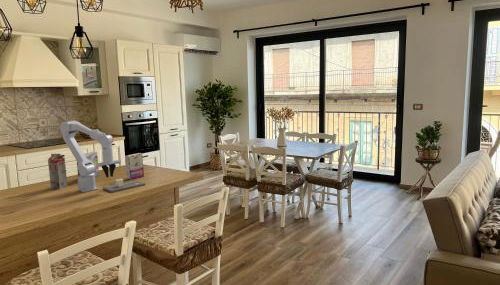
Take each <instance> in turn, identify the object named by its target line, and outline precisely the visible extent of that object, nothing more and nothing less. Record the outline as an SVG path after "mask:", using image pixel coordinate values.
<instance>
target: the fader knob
mask: <svg viewBox="0 0 500 285" xmlns="http://www.w3.org/2000/svg"><path fill="white" fill-rule="evenodd" d="M123 183H124V179H122V178H116V179H115V185H116V186H118V187H121V186H124V185H123Z"/></svg>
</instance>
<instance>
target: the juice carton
mask: <svg viewBox="0 0 500 285" xmlns="http://www.w3.org/2000/svg"><path fill="white" fill-rule="evenodd" d="M47 162H48V163H47V164H48V172H49V174H48V175H49V181H50V182H49V183H50V189H51V190H62V189H64V188H66V187H68V180H67V179H68V177H67V170H66V169H67V168H66V159H65V157H63V156H62V155H61V153H50V157H49V158H48V159H47Z"/></svg>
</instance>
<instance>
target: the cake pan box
mask: <svg viewBox="0 0 500 285" xmlns="http://www.w3.org/2000/svg"><path fill="white" fill-rule="evenodd" d="M84 155H85V156H86V158H87V159H88V160H90V161H91V162H92V163H93V164H94V165H95V166H96V164H98V163H99V159H98V158H99V157H98V156H99V155H98V151H90V152H88V153H84ZM77 166H78V162H77V161H76V168H77ZM96 168H97V170H96V172H95V178H96V177H98V176H99V174H100V173H99V167H96ZM79 177H81V175H80V174H79V170H78V168H77V179H78V178H79Z"/></svg>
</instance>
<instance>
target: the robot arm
mask: <svg viewBox="0 0 500 285" xmlns="http://www.w3.org/2000/svg"><path fill="white" fill-rule="evenodd" d="M59 130H60V132H61V136H62V139H63V140H64V142H65V144H66V146H67V147H68V149H69V150H70V152H71V154H72V156H73V157H74V158H75V161H76V163H77V162H78V166H77V165H76V168H78V170H79V174H80V175H81V177H79V178H78V177H77V187H78V188H77V190H78V191H79V192H81V193H86V192H91V191H94V190H95V191H96V190H99V188H98V187H97V186H96V177H95V172H96V170H97V168H96V167H98V168H100V167H101V169H102V170H103V172H104V175H105V178H109V176H110V177H111V178H113V177H114V173H115V172H114V171H115V170H116V167H117V165H118V164H119V165H120V164H121V160H120V159H117V160H114V155H113V143H114V137H113V135H111V133H110V134H107V133H105V132H102V131H100V129H98V128H96V129H91V128H89V127H87V126H86V125H84V124H82V123H81V122H80V121H78V120H70V121H63V122H61V123H60V127H59ZM78 131H79V132H82V133H84V134H86V135H89V138H91V139H92V140H95V141H97V142H99V144H100V145H101V152H102V161H101V162H98V164H96V166H95V165H94V164H93V163H92V162H91V161H90V160H88V159H87V158H86V156H85V155H84V154H85V153H84V152H83V150H82V148H81V146H80V145H79V143H78V142H77V140H76V138H75V135H76V133H77V132H78ZM78 170H77V171H78Z"/></svg>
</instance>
